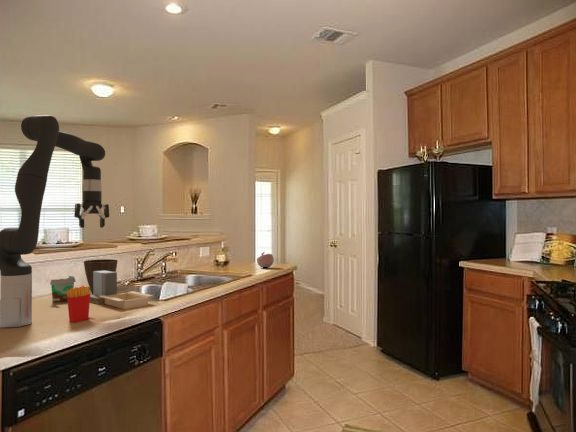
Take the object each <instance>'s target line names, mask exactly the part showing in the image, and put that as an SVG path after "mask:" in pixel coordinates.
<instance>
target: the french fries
mask: <svg viewBox="0 0 576 432" xmlns="http://www.w3.org/2000/svg"><path fill="white" fill-rule="evenodd" d="M89 291H90V287H89V285H88V286H85V285H82V286H78V287H76V286H74V288H71V289H70V290H69V289H68V290H67V291H66V292H67V295H68V297H67V308H68V309H67V311H68V318H69V320H68V321H69V322H70V323H79V322H83V321H88V319H89V316H90V315H89V314H90V304H91V302H90V295H91V293H89Z"/></svg>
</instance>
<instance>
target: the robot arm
mask: <svg viewBox="0 0 576 432" xmlns="http://www.w3.org/2000/svg"><path fill="white" fill-rule="evenodd" d="M20 128H21V132H22V134H23V136H25V138H26V139H28V140H30V141H33V142H34V141H35V142H37V143H36V146H35V148H34V150H33V151H32V153H30V154H31V155H29V157H28V158H26V160H25V161H24V163H22V164H21V166H20V167H19V169H18V172H17V176H16V180H15V183H14V193H15V196H16V199H17V201H18V204H19V206H20V210H21V213H20V214H21V215H20V223H19V225H18V227H4V228H3V229H1V230H0V328H20V327H22V326H23V327H24V326H27V325H30V324H32V323H33V267H32V265H31V264H30V263H27V262H25V260H23V258H22V255H23V256H24V255H30V254H32V253H33V252H34V251H35V250H36V247H37V244H38V241H39V232H40V221H41V213H42V205H43V200H44V195H45V191H46V187H47V182H48V174H49V171H50V165H51V162H52V158H53V154H54V152H55V148H56V147H57V148H60V149H63V150H65V151H67V152H69V153H72V154H74V155H76V156H78V157H79V160H80V164H81V167H82V173H83V176H82V178H83V181H82V203H74V215H73V217H74V218H76V219H78V221H79V222H78V224H79V225H78V226H79V227H80V228H81V229H85V218H86V216H88V214H89V215H93V214H94V215H97V216H98V217H99V218H100V219H99V228H101V229H102V228H104V227H105V226H106V219H107V218H109V217H110V206H109V203H104V204H102V199H103V198H102V192H103V191H102V190H103V189H102V170H101V167H99V166H94V165H93V163H92V162H97V161H99V162H100V161H103V159H104V158H105V157H106V150H105V148H104V147H103V146H102V145H101V144H99V143H97V142H93V141H90V140H85V139H83V138H82V137H80V136H77V135H75V134H72V133H70V132H69V133H68V132H64V131H60V123H59V122H58V120H57V118H56V117H55V116H53V115H49V114H46V115H43V114H42V115H41V114H39V115H30V116H26V117H25V118H23V120H22V121H21V123H20ZM81 209H83V210H82V211H81ZM102 209H103V211H102Z"/></svg>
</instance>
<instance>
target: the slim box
mask: <svg viewBox="0 0 576 432" xmlns="http://www.w3.org/2000/svg"><path fill="white" fill-rule="evenodd" d="M117 293H118V272H117V271H116V272H111V271H105V270H104V271H93V294H94V295H97V296H103V295H106V296H108V295H115V294H117Z"/></svg>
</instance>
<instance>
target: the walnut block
mask: <svg viewBox="0 0 576 432" xmlns="http://www.w3.org/2000/svg"><path fill="white" fill-rule="evenodd" d="M117 294H120V293H119V292H117ZM90 303H93V304H95V305H103V304H105V298H102V297H99V296H97V295H94V294H92V293H91V294H90Z"/></svg>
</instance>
